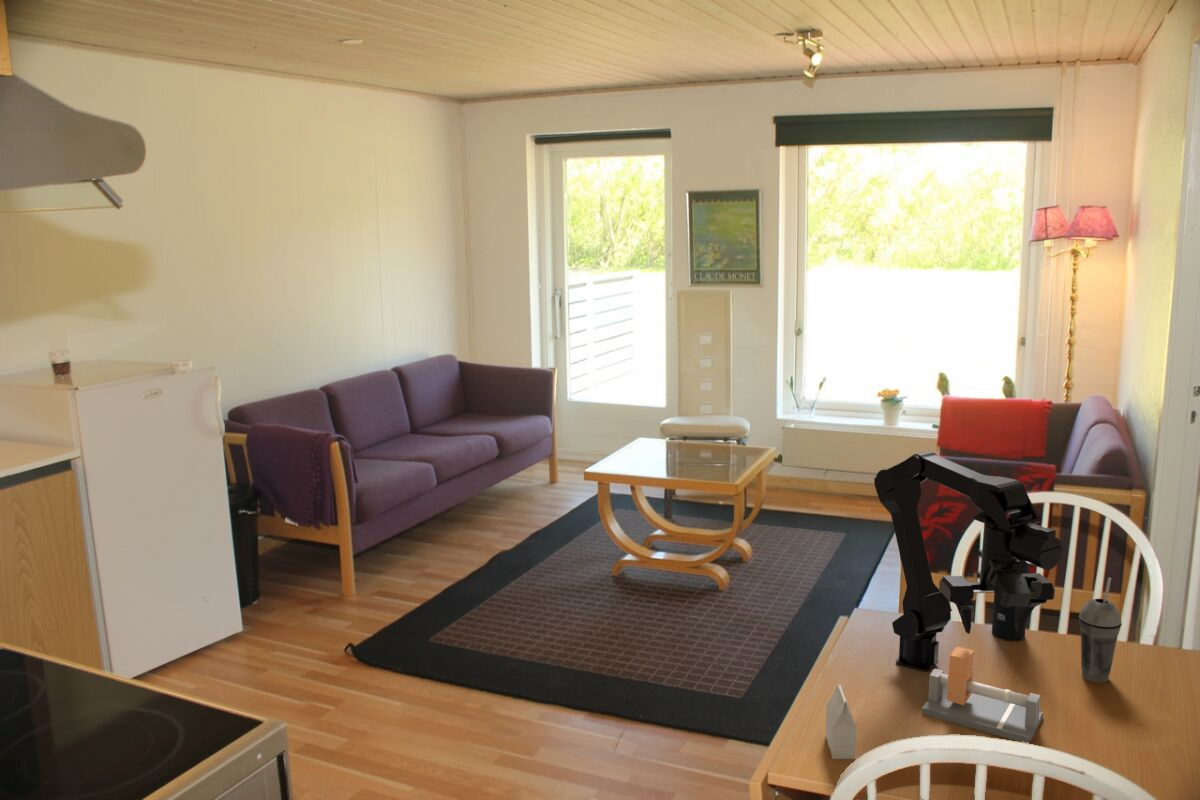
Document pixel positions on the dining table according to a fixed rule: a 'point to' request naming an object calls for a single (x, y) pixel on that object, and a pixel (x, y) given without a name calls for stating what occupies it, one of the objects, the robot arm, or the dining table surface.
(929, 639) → the robot arm
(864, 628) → the dining table surface
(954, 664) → the collar
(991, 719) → the rail stand
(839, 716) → the grey gable top carton
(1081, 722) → the dining table surface
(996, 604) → the black water bottle
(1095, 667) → the beverage cup
